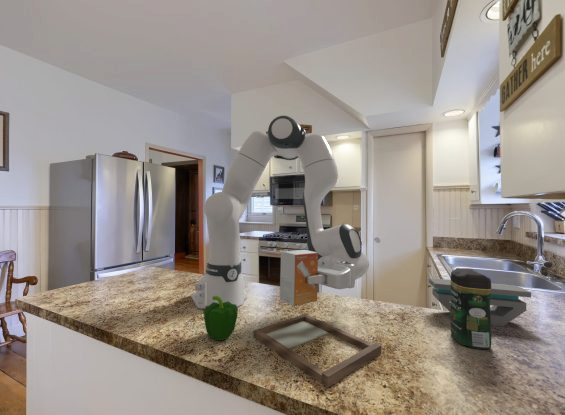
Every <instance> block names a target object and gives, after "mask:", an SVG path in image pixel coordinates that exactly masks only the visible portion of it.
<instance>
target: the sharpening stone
mask: <svg viewBox="0 0 565 415" xmlns="http://www.w3.org/2000/svg"><path fill="white" fill-rule="evenodd" d="M428 284H430V285H431V286H432V289H431V291H432V292H431V294H432V295H433V297H434V298H435V299H436V300H437V301H438V302H439V303H440V304H441V305H442V306H443V307H444V308H445V309H446V310H447V311H448V312H449V313H450V314H451V279H444V278H434V277H433V278H432V277H428ZM491 287H492V288H491V297H490V318H491V326H497V327H505V326H506V325H508V324H509V323H510V322H512V321H513V320H515V319H516V318H518V317H520V315H522V314H524V313H525V312H527V302H525V301H523V300H521V299H520V298H521V297H523V298H532V292H531V291H529V290H527V289H524V288H523V287H520V286H519V285H517V284H513V285H512V284H505V283H503V284H502V283H493V282H491ZM519 297H520V298H519Z"/></svg>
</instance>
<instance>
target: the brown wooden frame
mask: <svg viewBox="0 0 565 415" xmlns="http://www.w3.org/2000/svg"><path fill="white" fill-rule="evenodd" d="M252 333H253V338H255V339H256V340H258V341H260V343H262V344H263V345H264V346H267V347H268V348H269V349H271V350H272V351H274V352H275V353H277V354H278V355H280V357H282V358H284V359H285V360H287V361H288V362H289V363H291V364H293V365H294V366H295V367H297V368H299V369H300V370H301V371H303V372H304V373H306V374H307V375H309V376H310V377H311V378H313V379H315V380H316V381H317V382H319V383H320V384H322V385H323V386H325V387H326V388H330V387H331V386H333V385H334V384H337V382H340V381H341V380H342V379H344V378H345V377H347V376H349V375H350V374H352V373H353V372H355V371H356V370H358V369H360V368H361V367H364V365H366V364H368V363H369V362H371V361H373V360H374V359H376V358H377V357H379V356H381V355H382V345H381V344H379V343H377V342H374V343H373V342H370V341H368V340H366V339H363V338H360V337H358V336H356V335H354V334H353V333H352V334H351V333H350V332H347V331H345V330H342V329H341V328H338V327H336V326H333V325H331V324H330V323H326V322H325V321H322V320H320V319H317V318H315V317H313V316H311V315H308V314H306V313H304V314H301V315H299V316H295V317H292V318H289V319H285V320H282V321H280V322H276V323H274V324H273V323H272V324H270V325H267V326H265V327H261V328H258V329H255V330H253V332H252ZM327 334H329V335H332V336H334V337H337V338H338V339H341V340H343V341H345V342H347V343H349V344H351V345H353V346H356V347H357V348H360V349H361V350H360V351H358V352H356V353H355V354H353V355H351V356H350V357H347V358H346V359H344V360H342V361H341V362H339V363H337V364H335V365H333V366H332V367H330V368H328V369H326V370H324V369H323V368H321V367H319V366H317V365H316V364H314V363H313V362H311V361H310V360H308V359H306V358H305V357H303V356H301V355H300V354H298V353H297V352H295V351H294V350H292V349H294V348H296V347H298V346H301V345H303V344H305V343H308V342H311V341H313V340H315V339H317V338H320V337H322V336H324V335H327Z"/></svg>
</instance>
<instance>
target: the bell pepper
mask: <svg viewBox="0 0 565 415" xmlns="http://www.w3.org/2000/svg"><path fill="white" fill-rule="evenodd" d="M212 298H213V300H218V302H219V303H214V302H213V303H212V304H210V305H209V306H206V308H204V309H203V320H204V326H205V330H206V333H207V335H208V336H209V337H210V338H212V339H213V340H214V341H225V340H227V339H228V338H229V337H230V336H231V335H233V332H234V330H235V327H236V324H237V320H238V311H239V310H238V309H239V308H238V307H237V306H236V304H231V303H230V302H229V301H228V302H224V303H223V302H222V299H221V298H220V297H218V296H214V297H212Z"/></svg>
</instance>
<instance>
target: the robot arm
mask: <svg viewBox="0 0 565 415" xmlns="http://www.w3.org/2000/svg"><path fill="white" fill-rule="evenodd" d="M268 125H269V126H268V128H267V133H266V132H265V131H259V130H255V131H253V132H251V133H250V134H249V136H248V137H247V138H246V139H245V141H244V142H243V143H242V146H240V149H239V151H238V152H237V154H236V156H235V158H234V159H233V161H232V163H231V165H230V167H229V168H228V171H227V173H226V178H225V182H224V184H223V187H222V190H221V191H218V192H215V193H213V194H211V195H210V196H209V197H207V198H206V200H205V203H204V206H203V211H204V214H205V217H206V218H205V219H206V226H207V234H208V243H209V244H208V262H206V269H205V273H204V275H203V276H202V277H201V278H200V279H198V281H197V284H195V286H194V287H195V288H194V289H195V292H194V291H193V292H192V293H190V298H191V299H192V301H193V303H194V304H195V307H196V308H197V309H202V310H205V308H206V306H209V305H210V304H212V303H213V302H214V303H219V302H218V300H213V298H212V297H214V296H218V297H220V298H221V299H222V302H223V303H224V302H228V301H229V302H230V303H231V304H236V306H237V308H238V307H240V306H242V305H243V304H244V302H245V300H246V299H247V297H248V296H247V294H245V283H244V276H243V275H242V274H241V273H242V262H241V251H242V250H241V249H242V248H241V246H242V244H241V243H242V239H241V234H240V233H241V232H240V219H242V217H243V215H244V213H245V211H246V209H247V207H248V205H249V203H250V200H251V197H252V196H253V193H254V190H255V188H256V186H257V185H258V182H259V180H261V179H260V178H261V176H262V175H263V173H264V171H265V169H266V167H267V165H268V163H269V161H270V160H271V159H272V158H273V157H274V158H275V159H279V160H280V159H281V160H286V161H294V160H297V159H298V158H299V161H300V162H301V165H302V169H303V173H304V189H303V192H302V202H303V203H302V204H303V211H304V217H305V218H304V219H305V223H306V224H305V226H306V233H307V238H306V245H307V246H306V247H307V250H308V251H313V252H317V253H318V275H316V276H310V275H309V276H306V277H305V283H307V284H317V285H322V286H325V287H329V288H332V289H336V290H344V289H345V290H346V289H353V288H355V285H356V280H358V279H361V278H362V277H364V276H365V275H366V274H367V272H368V271H369V268H370V262H369V259H368V257H367V255H366V254H365V253H364V252H363V251H362V248H363V247H362V245H363V244H362V241H361V236H360V234H359V232H358V231H357V230H356V229H355V228H354V227H353V226H352V225H350V224H348V223H343V224H339V225H335V226H332V227H329V228H326V229H324V227H323V220H322V219H323V218H322V213H321V212H322V211H321V205H322V202H323V200H324V198H326V196H327V195H328V193H330V192H331V190H332V189H333V188H334V187H335V185H336V184H337V181H338V178H339V169H338V166H337V164H336V161H335V160H336V159H335V157H334V154H333V151H332V149H331V146H330V145H329V143H328V141H327V139H326V138H325V137H324V136H323V135H322V134H319V133H313V134H312V133H311V134H309V135H307V134H306V133H307V132H306V130H305V128H304V127H303V126H301V125H300V124H299V123H298V122H297V121H296V120H295V119H294V118H292V117H290V116H288V115H279V116H276V117H275V118H273V119H272V121H271V122H270V123H269V124H268Z"/></svg>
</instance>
